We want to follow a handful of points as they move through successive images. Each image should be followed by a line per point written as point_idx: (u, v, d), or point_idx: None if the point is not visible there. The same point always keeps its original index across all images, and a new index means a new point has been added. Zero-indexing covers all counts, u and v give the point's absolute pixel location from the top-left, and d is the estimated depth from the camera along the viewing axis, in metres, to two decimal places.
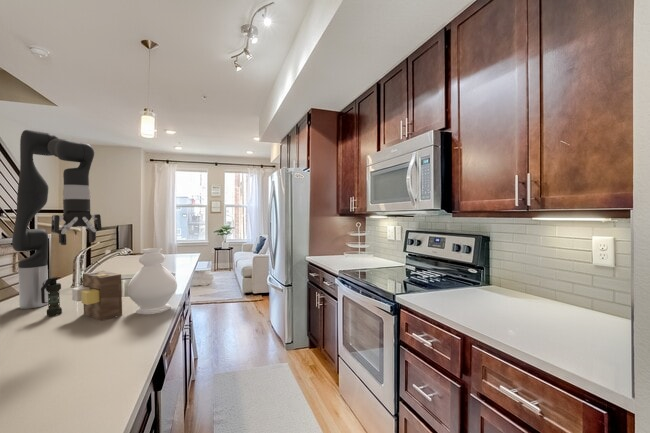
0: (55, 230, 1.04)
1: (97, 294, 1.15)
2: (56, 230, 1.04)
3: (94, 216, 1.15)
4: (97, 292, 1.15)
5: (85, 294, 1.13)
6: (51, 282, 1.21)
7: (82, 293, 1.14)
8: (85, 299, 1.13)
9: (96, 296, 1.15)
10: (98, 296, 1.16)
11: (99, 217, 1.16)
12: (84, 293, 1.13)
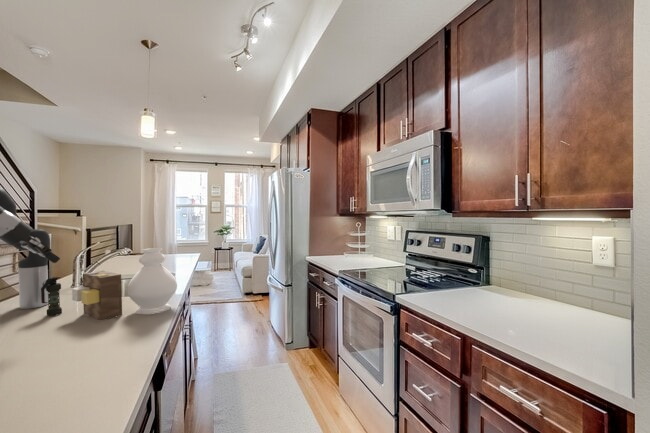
0: (49, 249, 1.05)
1: (97, 294, 1.15)
2: (49, 248, 1.05)
3: None
4: (97, 292, 1.15)
5: (85, 294, 1.13)
6: (51, 282, 1.21)
7: (82, 293, 1.14)
8: (85, 299, 1.13)
9: (96, 296, 1.15)
10: (98, 296, 1.16)
11: None
12: (84, 293, 1.13)
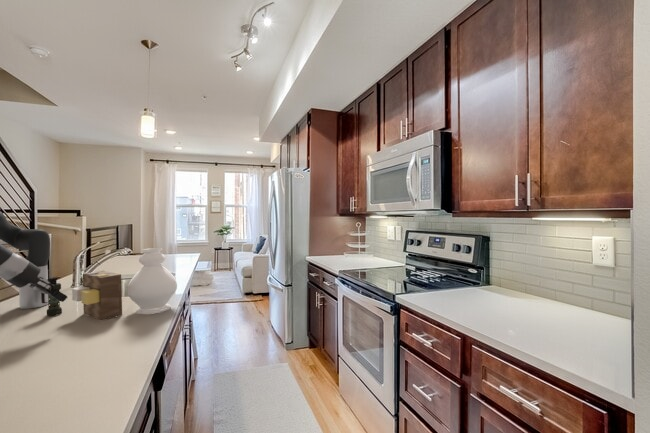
0: (57, 289, 1.05)
1: (97, 294, 1.15)
2: (57, 288, 1.05)
3: None
4: (97, 292, 1.15)
5: (85, 294, 1.13)
6: (51, 282, 1.21)
7: (82, 293, 1.14)
8: (85, 299, 1.13)
9: (96, 296, 1.15)
10: (98, 296, 1.16)
11: None
12: (84, 293, 1.13)
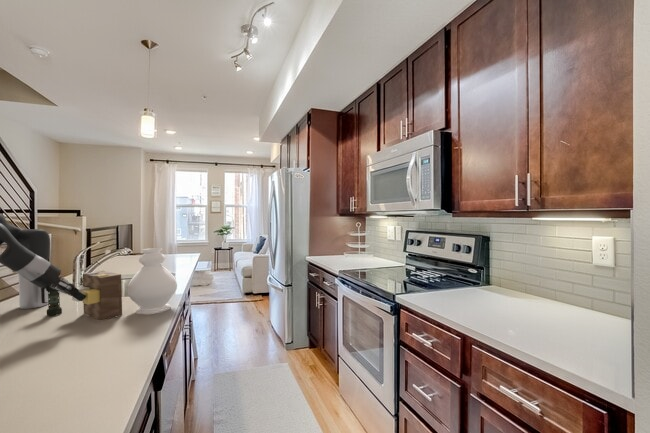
0: (77, 289, 1.09)
1: (98, 294, 1.15)
2: None
3: None
4: (98, 292, 1.15)
5: (86, 294, 1.13)
6: None
7: (83, 293, 1.14)
8: (86, 299, 1.13)
9: (97, 296, 1.15)
10: (99, 296, 1.16)
11: None
12: (85, 293, 1.14)
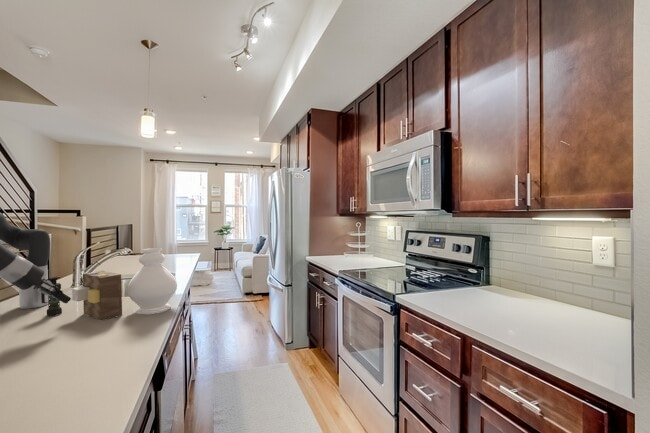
0: (61, 291, 1.05)
1: None
2: None
3: None
4: None
5: (92, 293, 1.15)
6: (51, 282, 1.21)
7: (89, 292, 1.16)
8: (92, 298, 1.15)
9: None
10: None
11: None
12: (91, 292, 1.15)
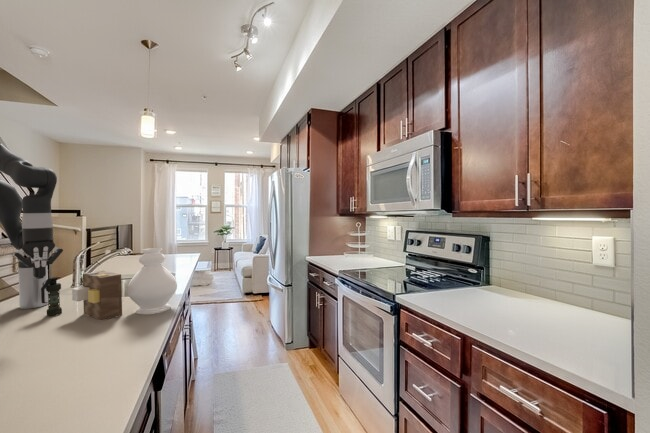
0: None
1: None
2: None
3: None
4: None
5: (92, 293, 1.15)
6: (51, 282, 1.21)
7: (89, 292, 1.16)
8: (92, 298, 1.15)
9: None
10: None
11: None
12: (91, 292, 1.15)
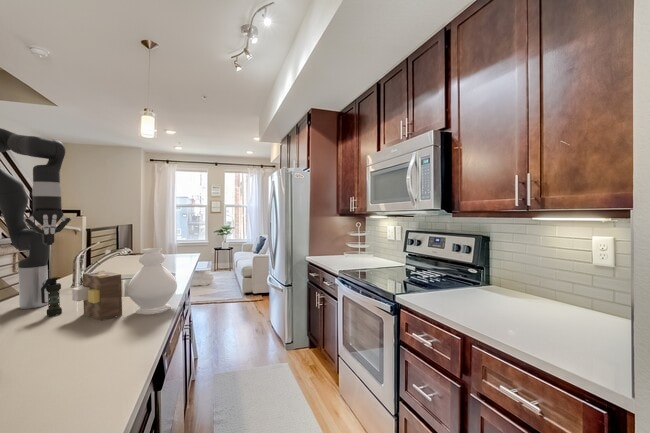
0: None
1: None
2: None
3: None
4: None
5: (92, 293, 1.15)
6: (51, 282, 1.21)
7: (89, 292, 1.16)
8: (92, 298, 1.15)
9: None
10: None
11: None
12: (91, 292, 1.15)
